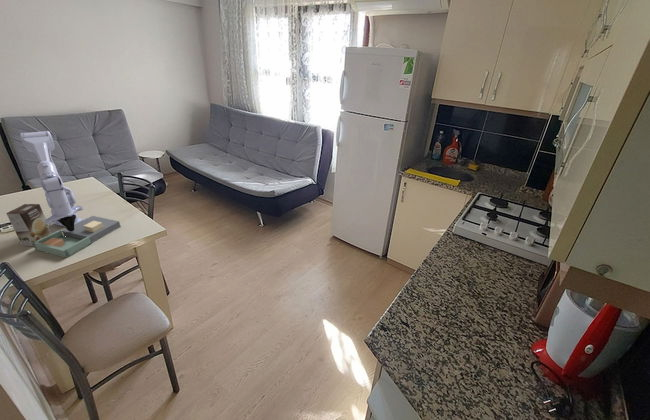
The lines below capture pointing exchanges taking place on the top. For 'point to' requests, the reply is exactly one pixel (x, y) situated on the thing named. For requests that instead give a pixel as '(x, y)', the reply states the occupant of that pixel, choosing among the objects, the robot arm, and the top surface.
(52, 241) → the tile
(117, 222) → the board
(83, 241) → the tray
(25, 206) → the coffee box
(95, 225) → the tile
